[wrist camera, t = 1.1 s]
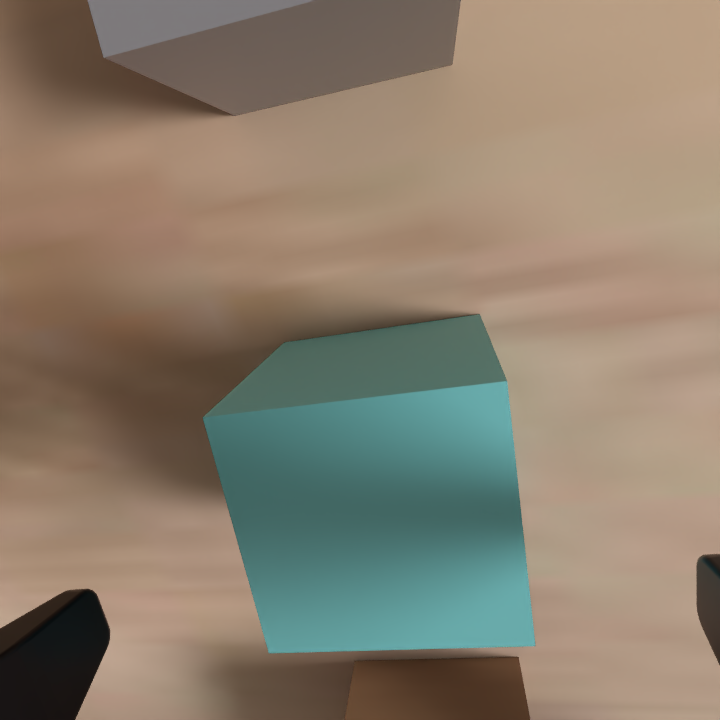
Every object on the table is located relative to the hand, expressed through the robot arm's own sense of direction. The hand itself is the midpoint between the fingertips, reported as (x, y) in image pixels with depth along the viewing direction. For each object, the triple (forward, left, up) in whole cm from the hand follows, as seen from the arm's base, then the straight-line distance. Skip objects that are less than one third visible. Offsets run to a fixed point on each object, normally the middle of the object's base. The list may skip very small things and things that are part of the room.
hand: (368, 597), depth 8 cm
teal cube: (0, 0, -6) cm, 6 cm away
